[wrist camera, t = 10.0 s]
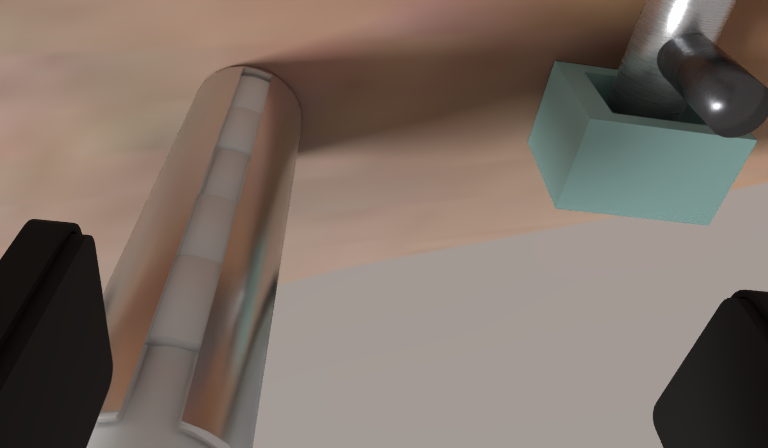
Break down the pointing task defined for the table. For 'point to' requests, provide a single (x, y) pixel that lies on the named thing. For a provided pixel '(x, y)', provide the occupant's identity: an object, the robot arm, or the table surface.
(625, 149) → the socket block
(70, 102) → the table surface
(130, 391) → the grey cylinder
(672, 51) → the slip tube
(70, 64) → the table surface
